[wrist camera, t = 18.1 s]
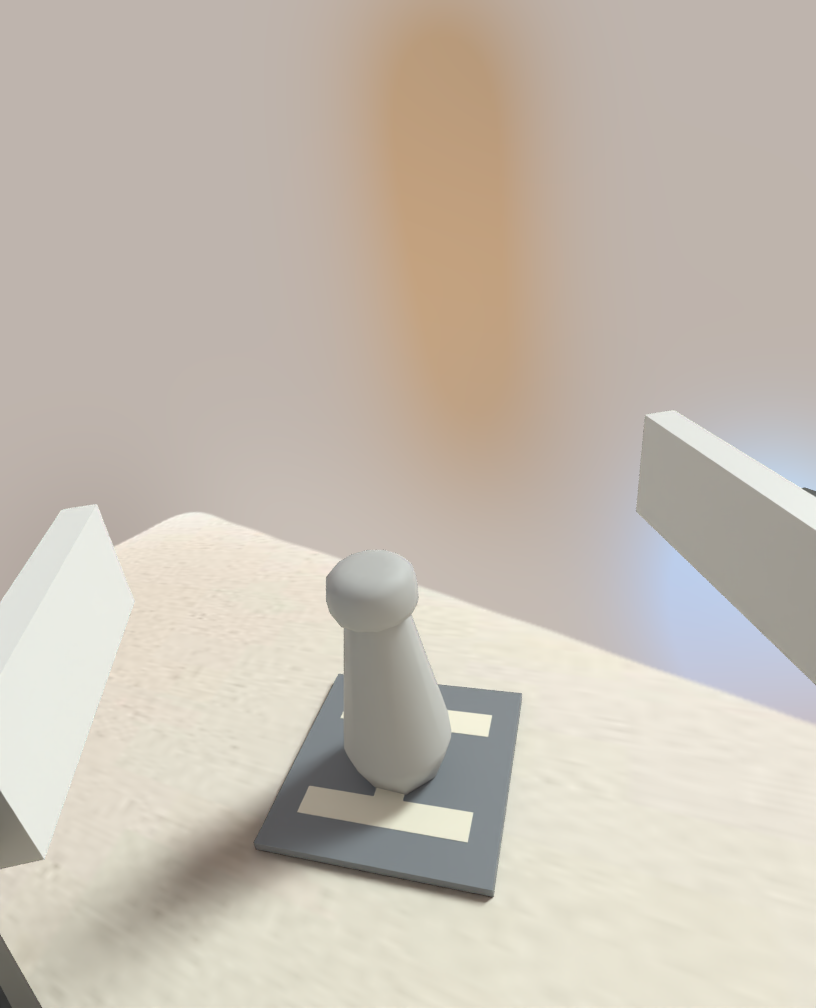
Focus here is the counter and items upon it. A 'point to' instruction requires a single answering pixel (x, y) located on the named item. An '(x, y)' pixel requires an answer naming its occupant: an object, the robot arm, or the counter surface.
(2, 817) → the robot arm
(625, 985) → the counter surface
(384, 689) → the salt shaker
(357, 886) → the counter surface
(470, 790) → the letter card
